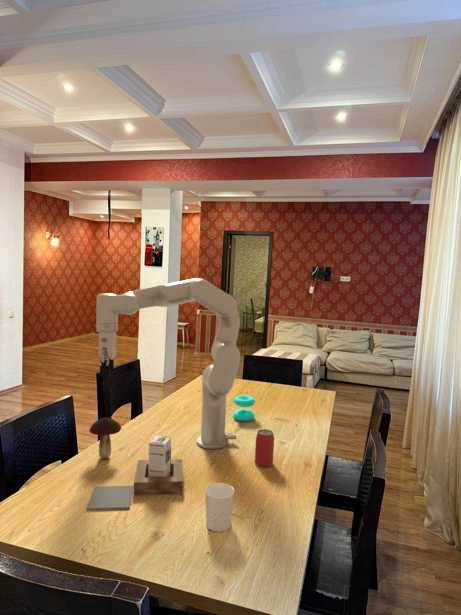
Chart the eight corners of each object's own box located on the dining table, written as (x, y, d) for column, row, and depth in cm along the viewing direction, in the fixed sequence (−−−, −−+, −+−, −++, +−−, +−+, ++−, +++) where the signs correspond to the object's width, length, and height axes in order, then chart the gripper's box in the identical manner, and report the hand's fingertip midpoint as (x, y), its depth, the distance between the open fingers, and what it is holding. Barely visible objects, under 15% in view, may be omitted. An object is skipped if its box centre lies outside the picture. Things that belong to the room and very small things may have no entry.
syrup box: (164, 487, 136) (166, 443, 135) (147, 485, 138) (148, 441, 136) (170, 479, 142) (172, 436, 141) (154, 476, 143) (155, 434, 142)
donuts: (233, 400, 195) (234, 393, 205) (232, 421, 196) (234, 413, 206) (254, 401, 194) (255, 395, 204) (253, 423, 195) (254, 415, 205)
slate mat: (133, 487, 136) (133, 485, 136) (129, 508, 124) (129, 507, 124) (94, 488, 134) (94, 486, 134) (86, 510, 122) (86, 508, 122)
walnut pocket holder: (182, 470, 148) (182, 459, 148) (182, 493, 133) (183, 481, 133) (137, 471, 146) (138, 460, 146) (133, 495, 131) (133, 482, 131)
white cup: (204, 516, 122) (205, 482, 121) (231, 516, 123) (233, 482, 122) (204, 533, 114) (205, 498, 113) (234, 533, 115) (235, 497, 114)
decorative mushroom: (95, 450, 160) (95, 411, 159) (124, 452, 160) (125, 413, 159) (84, 464, 150) (84, 422, 148) (115, 466, 149) (116, 424, 148)
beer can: (274, 461, 158) (276, 430, 156) (270, 469, 151) (272, 437, 150) (257, 458, 160) (258, 427, 158) (252, 466, 153) (254, 433, 152)
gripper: (113, 331, 149) (113, 379, 150) (121, 324, 166) (120, 367, 168) (91, 330, 148) (91, 379, 150) (101, 323, 165) (101, 367, 167)
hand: (106, 373), depth 159 cm, fingers open, 9 cm apart
